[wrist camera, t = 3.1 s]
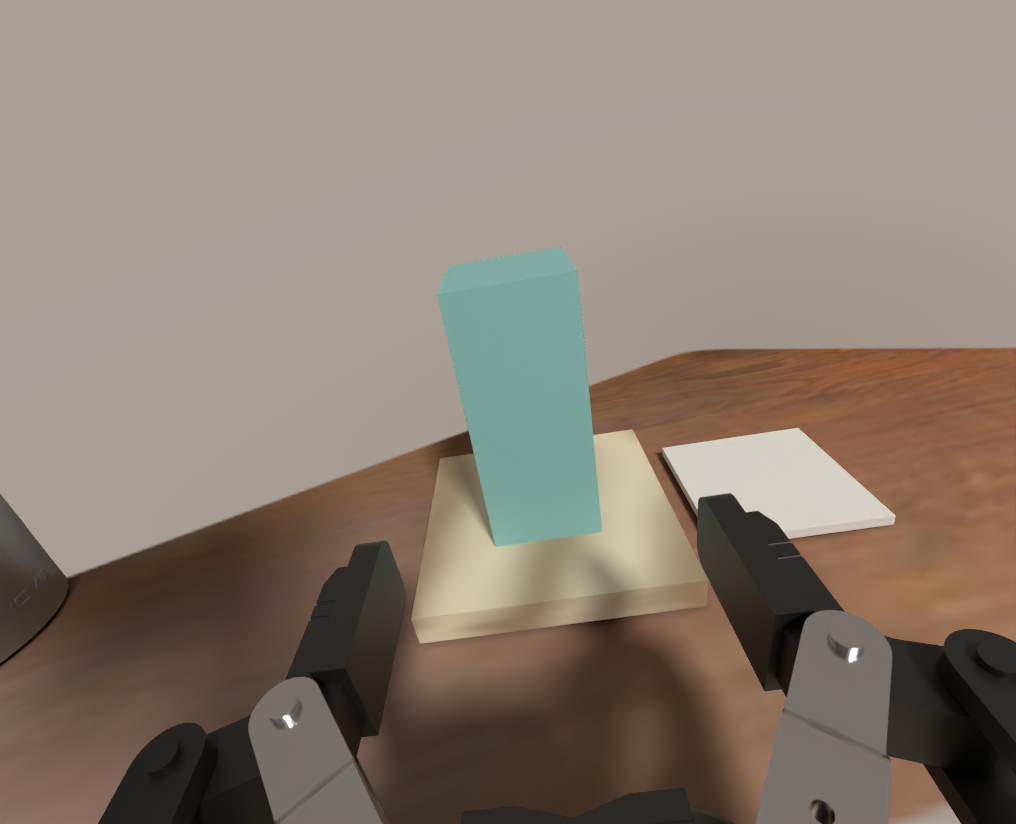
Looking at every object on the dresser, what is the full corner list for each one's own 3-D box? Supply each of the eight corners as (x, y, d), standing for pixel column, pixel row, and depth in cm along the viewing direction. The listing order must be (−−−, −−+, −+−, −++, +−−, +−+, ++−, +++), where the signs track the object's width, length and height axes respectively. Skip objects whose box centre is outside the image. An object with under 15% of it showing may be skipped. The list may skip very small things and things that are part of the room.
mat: (715, 548, 23) (715, 540, 22) (662, 454, 30) (662, 448, 29) (893, 524, 22) (895, 515, 22) (797, 435, 29) (797, 427, 29)
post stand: (419, 643, 21) (375, 525, 18) (445, 477, 31) (420, 386, 28) (707, 606, 20) (711, 476, 17) (633, 449, 31) (628, 353, 28)
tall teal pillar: (495, 546, 23) (437, 294, 17) (495, 483, 27) (448, 265, 22) (602, 531, 23) (577, 270, 17) (584, 470, 27) (560, 246, 22)
